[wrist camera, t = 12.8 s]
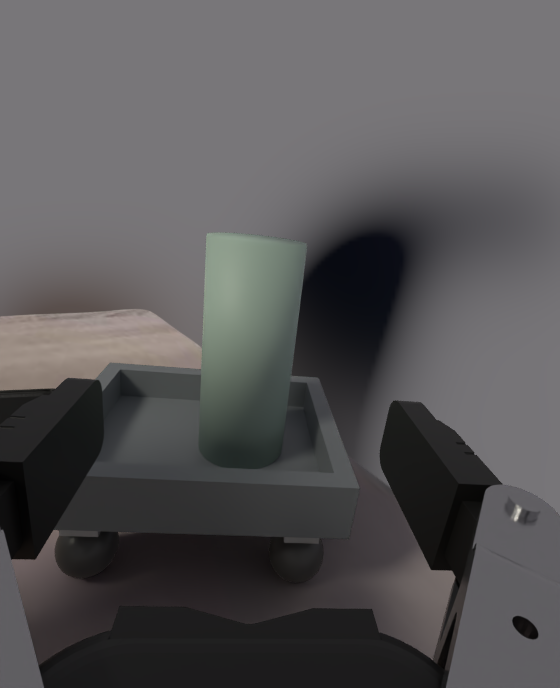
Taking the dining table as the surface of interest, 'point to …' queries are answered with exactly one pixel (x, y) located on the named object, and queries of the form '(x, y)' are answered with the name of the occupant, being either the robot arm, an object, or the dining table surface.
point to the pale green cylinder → (248, 346)
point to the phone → (18, 400)
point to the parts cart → (206, 477)
